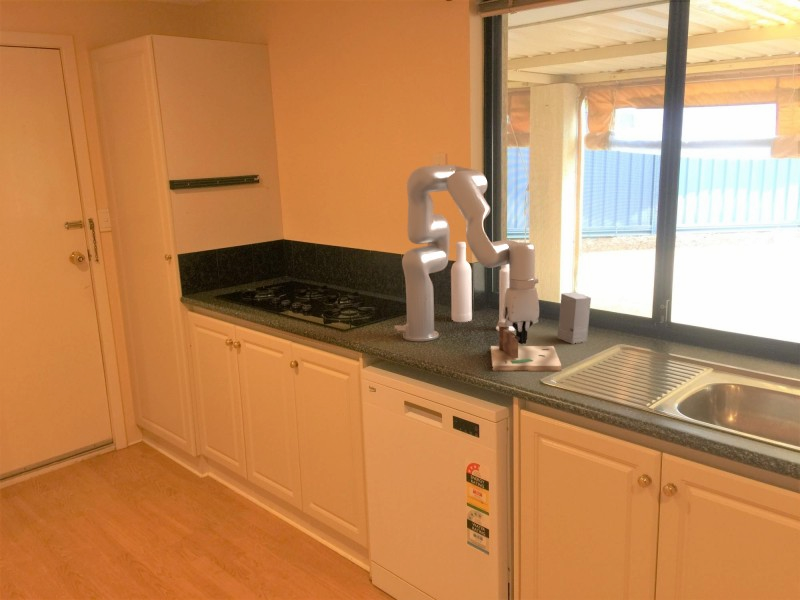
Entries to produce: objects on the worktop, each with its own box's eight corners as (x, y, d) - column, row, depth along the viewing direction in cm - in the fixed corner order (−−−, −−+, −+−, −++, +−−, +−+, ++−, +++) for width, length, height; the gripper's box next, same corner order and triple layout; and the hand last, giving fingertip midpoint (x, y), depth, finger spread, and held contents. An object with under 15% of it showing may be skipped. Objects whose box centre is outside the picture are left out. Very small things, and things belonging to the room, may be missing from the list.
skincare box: (557, 338, 230) (558, 293, 227) (574, 335, 233) (575, 291, 230) (572, 344, 223) (573, 298, 219) (590, 341, 225) (591, 295, 222)
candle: (515, 332, 240) (515, 262, 234) (495, 331, 241) (495, 262, 236) (515, 327, 246) (516, 259, 241) (496, 326, 248) (496, 259, 242)
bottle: (476, 320, 258) (476, 242, 251) (460, 323, 254) (459, 244, 247) (463, 316, 264) (462, 240, 258) (447, 319, 260) (446, 242, 254)
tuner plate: (492, 370, 200) (492, 364, 199) (490, 350, 219) (490, 345, 219) (561, 370, 198) (561, 365, 197) (553, 350, 217) (553, 345, 217)
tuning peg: (495, 347, 216) (495, 321, 214) (507, 346, 217) (508, 320, 215) (512, 362, 201) (512, 334, 199) (525, 361, 201) (525, 333, 199)
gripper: (538, 279, 208) (537, 337, 212) (493, 284, 204) (494, 342, 208) (550, 284, 201) (549, 343, 205) (504, 288, 197) (504, 348, 201)
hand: (521, 342), depth 207 cm, fingers closed
